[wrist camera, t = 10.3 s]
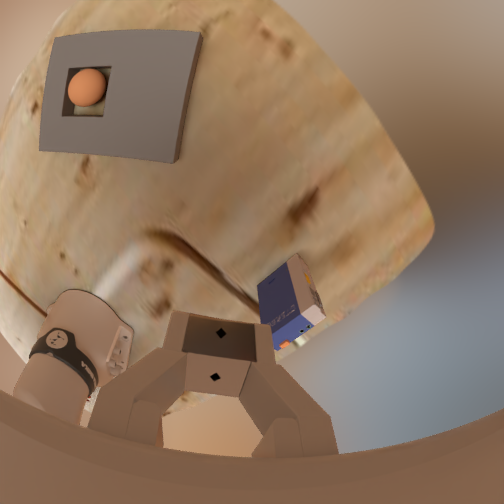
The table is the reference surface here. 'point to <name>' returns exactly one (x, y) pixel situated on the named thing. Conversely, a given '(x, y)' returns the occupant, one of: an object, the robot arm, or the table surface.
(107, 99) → the pocket board
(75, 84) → the ball
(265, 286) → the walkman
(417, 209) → the table surface
